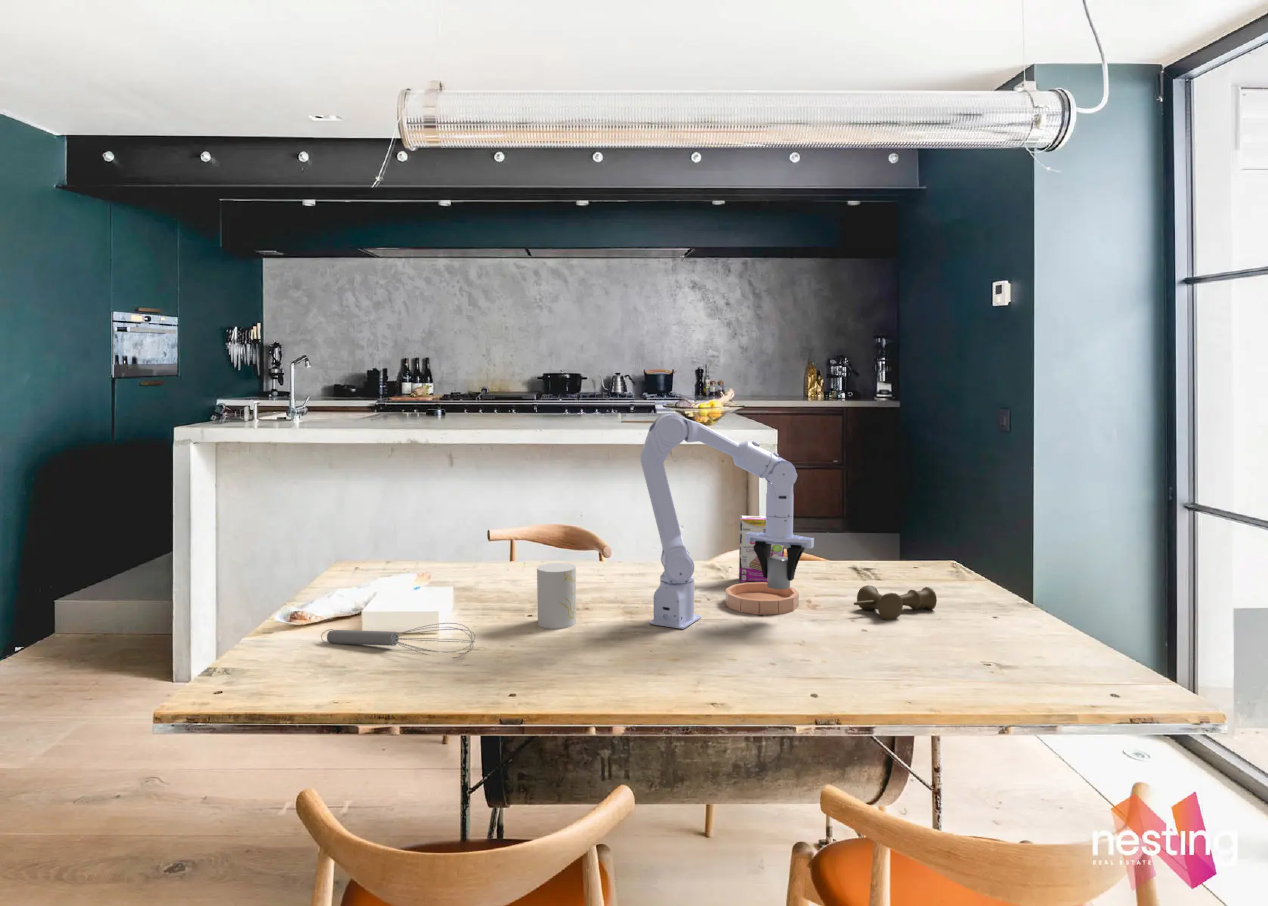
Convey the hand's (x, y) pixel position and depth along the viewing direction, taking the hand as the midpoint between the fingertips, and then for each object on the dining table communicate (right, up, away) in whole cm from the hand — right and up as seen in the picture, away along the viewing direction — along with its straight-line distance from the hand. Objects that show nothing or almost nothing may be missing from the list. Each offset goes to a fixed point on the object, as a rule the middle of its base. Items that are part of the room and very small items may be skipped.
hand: (778, 578), depth 177 cm
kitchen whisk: (-77, -12, -18) cm, 79 cm away
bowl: (-2, -8, +12) cm, 14 cm away
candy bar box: (+1, -6, +33) cm, 34 cm away
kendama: (+26, -9, +5) cm, 28 cm away
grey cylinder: (0, -2, 0) cm, 2 cm away
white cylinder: (-47, -10, -1) cm, 48 cm away
